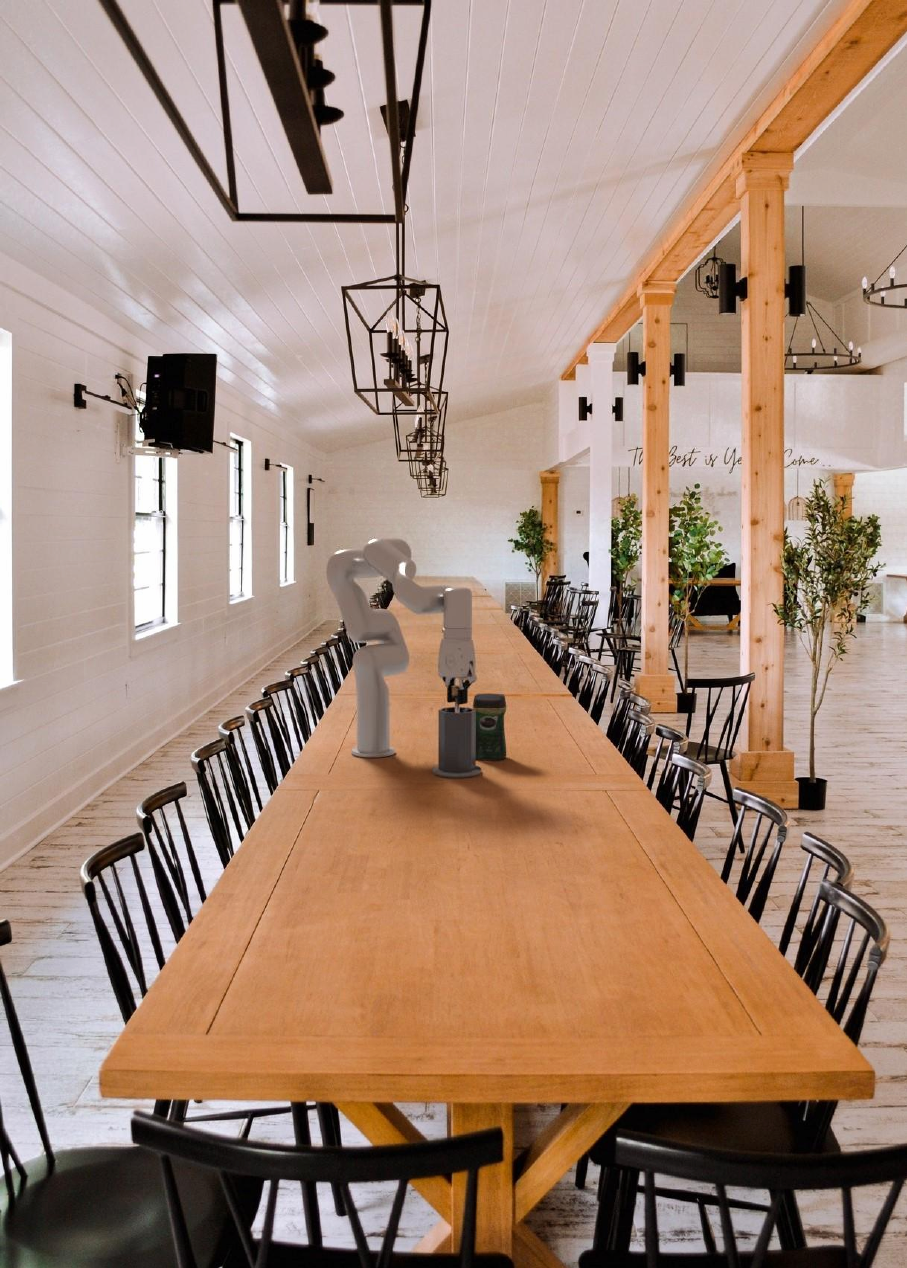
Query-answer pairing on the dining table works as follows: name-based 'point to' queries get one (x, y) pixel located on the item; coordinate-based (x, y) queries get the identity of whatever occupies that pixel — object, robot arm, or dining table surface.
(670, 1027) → the dining table surface
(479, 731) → the coffee jar
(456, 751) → the press carafe
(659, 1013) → the dining table surface
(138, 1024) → the dining table surface
